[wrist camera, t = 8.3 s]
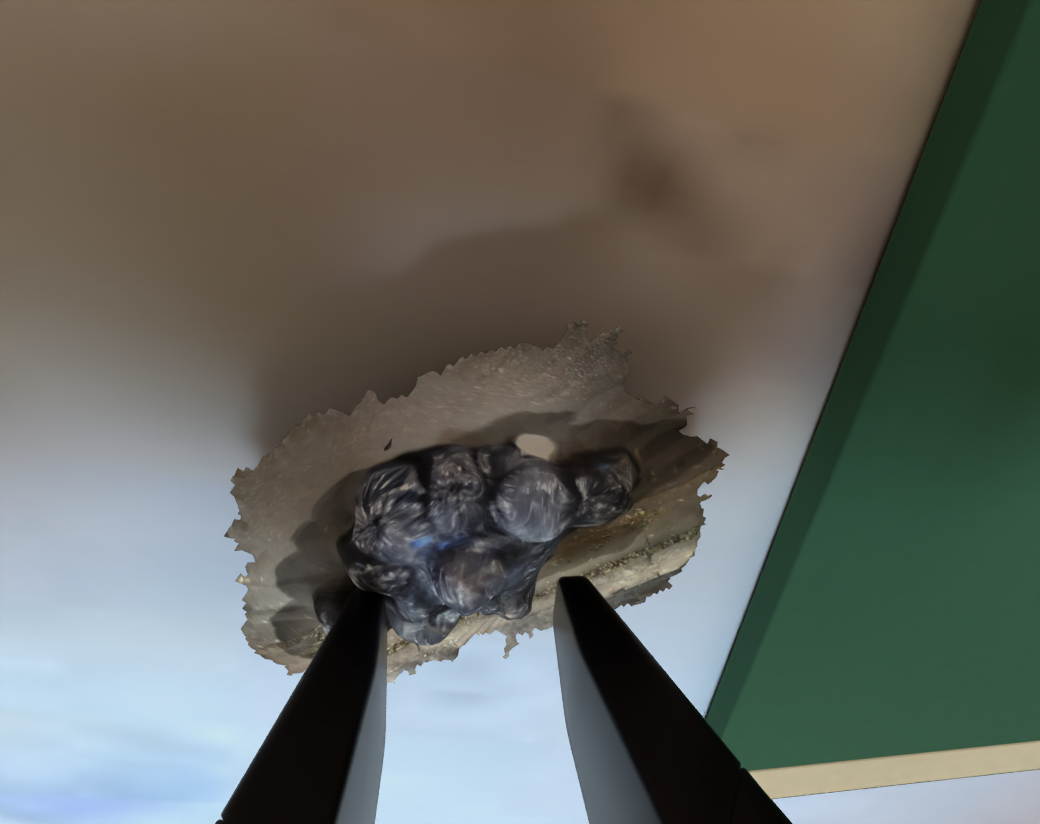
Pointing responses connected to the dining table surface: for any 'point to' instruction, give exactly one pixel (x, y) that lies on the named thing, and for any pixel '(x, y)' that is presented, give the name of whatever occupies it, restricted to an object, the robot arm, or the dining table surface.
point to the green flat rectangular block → (919, 482)
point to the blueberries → (471, 503)
